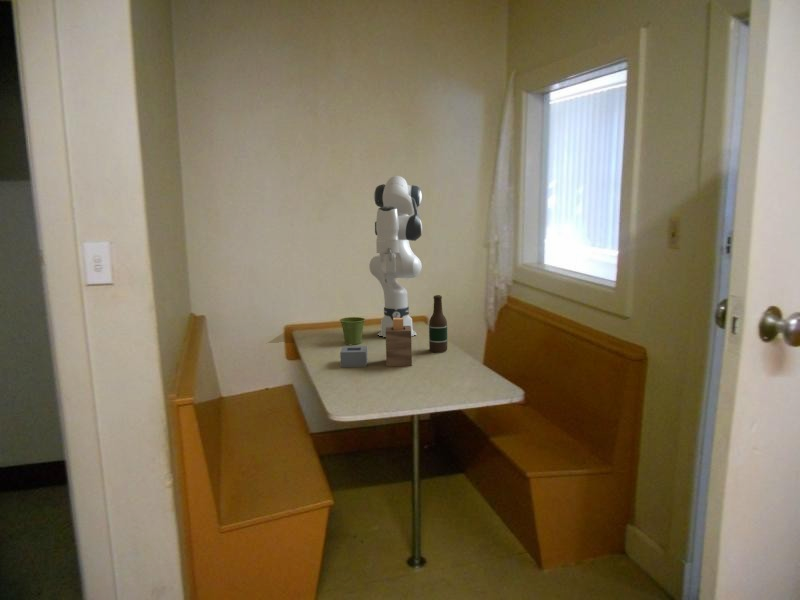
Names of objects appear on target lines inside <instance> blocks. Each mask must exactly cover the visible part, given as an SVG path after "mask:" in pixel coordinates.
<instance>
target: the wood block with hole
mask: <svg viewBox="0 0 800 600" xmlns="http://www.w3.org/2000/svg"><path fill="white" fill-rule="evenodd" d="M412 348H413V347H412V336H411V326H403V330H393V326H386V338H385V354H386V355H385V357H386V358H385V359H386V367H404V366H405V367H410V366H411V367H412V366H413V360H412V359H413V357H412V355H413V353H412Z"/></svg>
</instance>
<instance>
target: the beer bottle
mask: <svg viewBox="0 0 800 600" xmlns="http://www.w3.org/2000/svg"><path fill="white" fill-rule="evenodd" d="M442 299H443V296H442V295H438V294H435V295H433V312H432V315H431V316H430V318H429V323H428V331H429V332H428V334H429V335H428V339H429V341H428V343H429V345H428V346H429V351H430V352H431V353H437V352H439V353H445V352H447V351H448V321H447V318H446V317H445V315H444V312H443V303H442V302H443V300H442ZM446 350H447V351H446Z"/></svg>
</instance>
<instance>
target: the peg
mask: <svg viewBox="0 0 800 600" xmlns="http://www.w3.org/2000/svg"><path fill="white" fill-rule="evenodd" d="M393 330H403V318H393Z"/></svg>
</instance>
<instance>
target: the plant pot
mask: <svg viewBox="0 0 800 600" xmlns="http://www.w3.org/2000/svg"><path fill="white" fill-rule="evenodd" d="M365 321H366V318H364V317H359V316H351V317H349V316H348V317H343V318H340V319H339V322H340V324H341V327H342V332H343V337H344V338H343V339H344V343H345V344H346V343H347V344H346V345H349V344H353V345H356V344H357V345H359V344H358V343H360V344H361V343H362V338H363V329H364V326H365Z"/></svg>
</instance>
